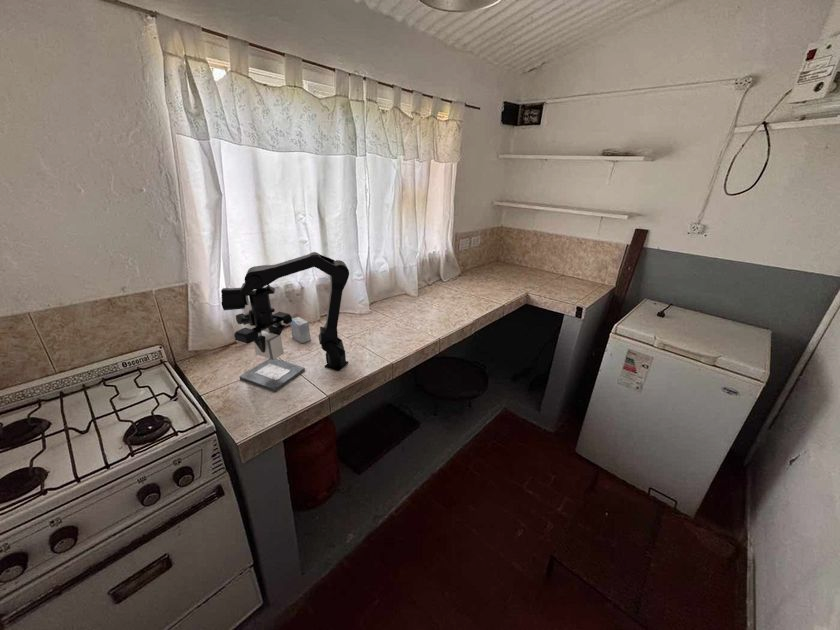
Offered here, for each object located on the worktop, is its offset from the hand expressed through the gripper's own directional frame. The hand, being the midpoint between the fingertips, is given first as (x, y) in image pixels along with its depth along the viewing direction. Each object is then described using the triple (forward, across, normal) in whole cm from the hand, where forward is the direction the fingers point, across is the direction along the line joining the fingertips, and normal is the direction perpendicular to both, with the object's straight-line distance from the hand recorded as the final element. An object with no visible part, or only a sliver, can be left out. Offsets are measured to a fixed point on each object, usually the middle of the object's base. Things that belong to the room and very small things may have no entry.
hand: (268, 348), depth 111 cm
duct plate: (+10, 0, 0) cm, 11 cm away
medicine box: (+11, -25, -10) cm, 29 cm away
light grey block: (+2, 0, 0) cm, 2 cm away
